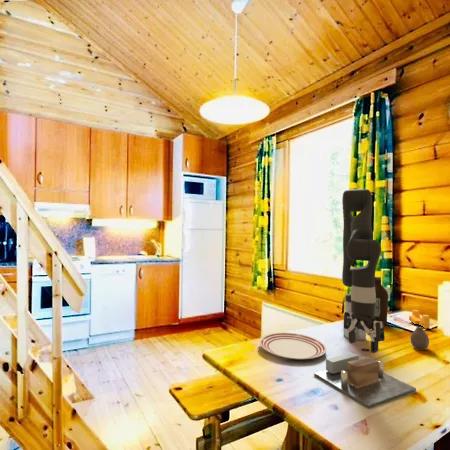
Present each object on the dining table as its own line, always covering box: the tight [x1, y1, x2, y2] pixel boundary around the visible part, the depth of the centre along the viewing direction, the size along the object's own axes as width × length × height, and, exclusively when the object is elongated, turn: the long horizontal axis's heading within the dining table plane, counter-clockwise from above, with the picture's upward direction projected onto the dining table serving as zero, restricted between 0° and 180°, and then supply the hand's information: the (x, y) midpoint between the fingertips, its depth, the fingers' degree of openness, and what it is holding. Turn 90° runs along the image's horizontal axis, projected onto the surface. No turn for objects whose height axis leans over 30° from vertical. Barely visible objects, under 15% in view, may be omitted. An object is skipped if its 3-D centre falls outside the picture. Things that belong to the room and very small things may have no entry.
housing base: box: [313, 360, 417, 410], centre depth 103 cm, size 22×22×6 cm
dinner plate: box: [259, 332, 327, 361], centre depth 131 cm, size 28×27×3 cm
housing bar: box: [325, 352, 360, 374], centre depth 111 cm, size 3×13×4 cm, turn 116°
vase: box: [410, 326, 430, 351], centre depth 135 cm, size 7×7×9 cm
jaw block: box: [347, 356, 379, 386], centre depth 103 cm, size 4×10×6 cm, turn 115°
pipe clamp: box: [408, 309, 431, 329], centre depth 168 cm, size 12×4×6 cm, turn 176°
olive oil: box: [374, 276, 389, 326], centre depth 172 cm, size 11×11×25 cm
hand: (362, 347), depth 103 cm, fingers open, 8 cm apart
